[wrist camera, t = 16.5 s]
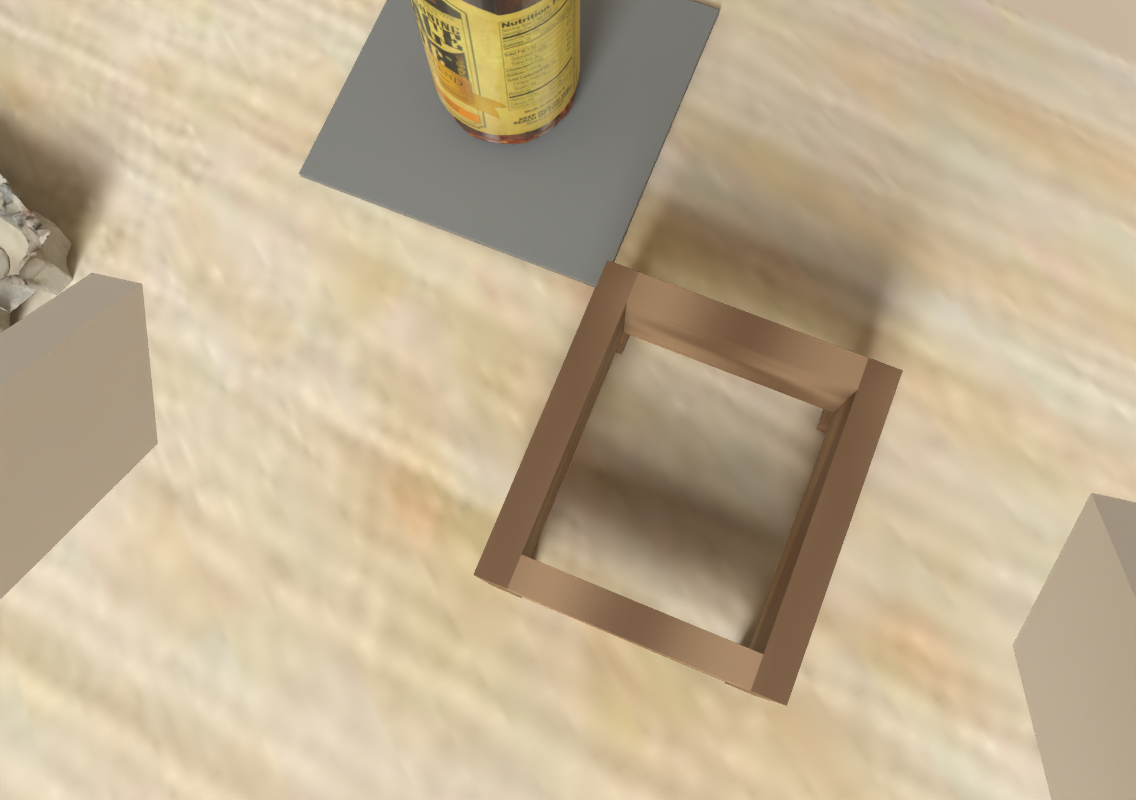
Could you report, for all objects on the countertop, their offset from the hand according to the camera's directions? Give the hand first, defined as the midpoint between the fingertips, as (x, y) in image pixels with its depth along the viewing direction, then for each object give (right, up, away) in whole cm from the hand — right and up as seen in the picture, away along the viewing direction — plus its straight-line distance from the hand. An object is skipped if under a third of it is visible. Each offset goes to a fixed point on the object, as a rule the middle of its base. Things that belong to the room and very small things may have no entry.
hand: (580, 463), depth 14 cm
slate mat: (-3, +14, +30) cm, 34 cm away
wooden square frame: (+4, -3, +26) cm, 26 cm away
